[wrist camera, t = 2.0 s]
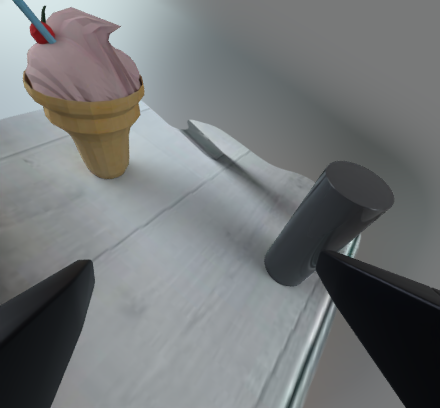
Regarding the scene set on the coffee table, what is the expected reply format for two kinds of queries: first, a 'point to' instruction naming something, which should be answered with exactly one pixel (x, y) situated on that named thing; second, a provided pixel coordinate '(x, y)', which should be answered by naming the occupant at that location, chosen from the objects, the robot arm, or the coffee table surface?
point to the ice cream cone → (84, 85)
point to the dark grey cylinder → (327, 220)
